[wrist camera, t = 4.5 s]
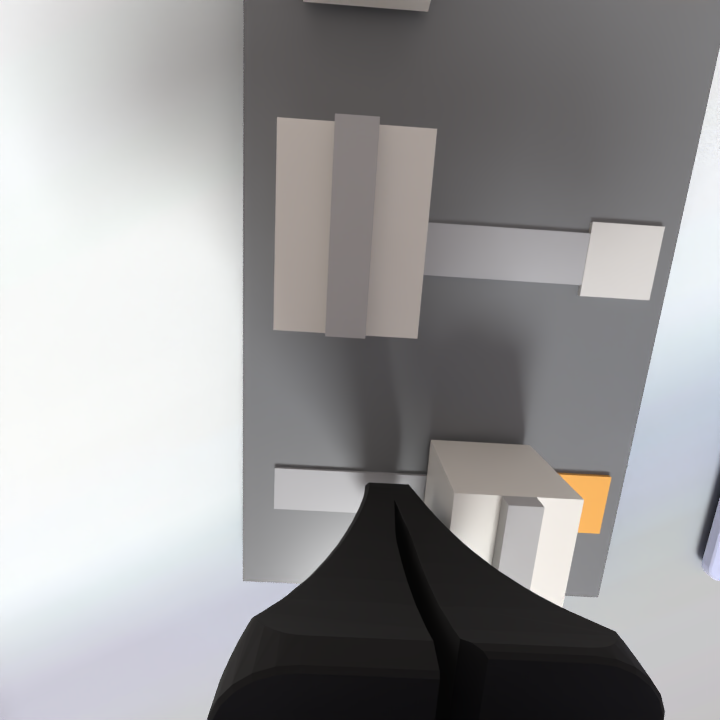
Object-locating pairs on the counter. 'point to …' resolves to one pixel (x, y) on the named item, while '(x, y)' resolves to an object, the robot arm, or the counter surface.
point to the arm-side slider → (507, 510)
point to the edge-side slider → (381, 3)
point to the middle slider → (351, 226)
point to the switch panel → (473, 250)
